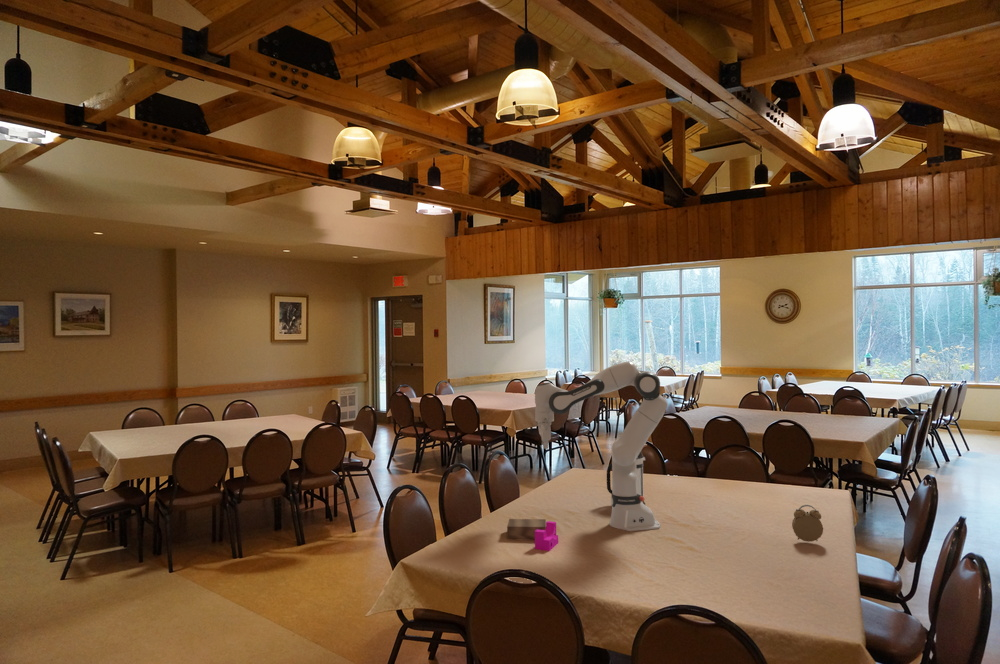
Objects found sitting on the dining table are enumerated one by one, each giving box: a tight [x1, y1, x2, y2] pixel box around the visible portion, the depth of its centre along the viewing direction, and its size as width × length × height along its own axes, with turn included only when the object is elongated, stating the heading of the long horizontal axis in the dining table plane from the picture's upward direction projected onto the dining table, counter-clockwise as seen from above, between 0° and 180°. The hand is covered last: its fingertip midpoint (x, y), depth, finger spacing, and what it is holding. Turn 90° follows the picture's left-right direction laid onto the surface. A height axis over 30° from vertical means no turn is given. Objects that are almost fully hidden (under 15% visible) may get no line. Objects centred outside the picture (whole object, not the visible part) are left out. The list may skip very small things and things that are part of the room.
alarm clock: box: [791, 504, 824, 543], centre depth 255 cm, size 11×5×15 cm, turn 73°
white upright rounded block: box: [606, 451, 647, 505], centre depth 315 cm, size 17×16×30 cm
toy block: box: [534, 520, 559, 552], centre depth 256 cm, size 15×6×8 cm, turn 155°
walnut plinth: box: [506, 518, 547, 541], centre depth 267 cm, size 16×11×6 cm
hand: (544, 446), depth 291 cm, fingers open, 8 cm apart
